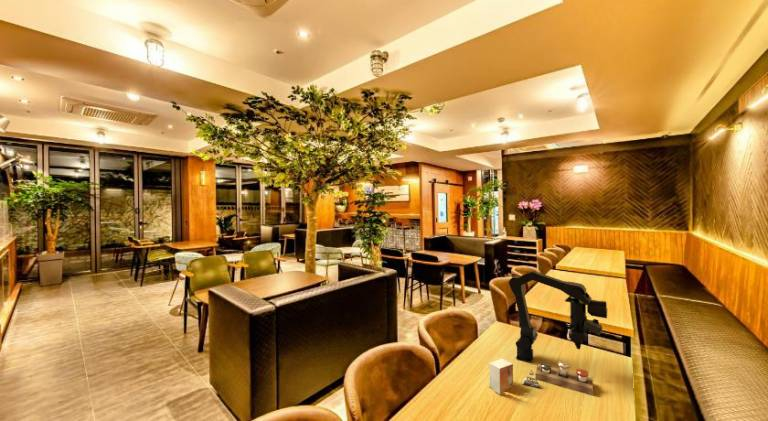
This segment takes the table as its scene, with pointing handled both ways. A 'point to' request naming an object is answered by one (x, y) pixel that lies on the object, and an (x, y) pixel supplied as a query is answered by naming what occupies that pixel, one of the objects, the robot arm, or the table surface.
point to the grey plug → (546, 367)
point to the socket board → (565, 380)
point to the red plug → (582, 375)
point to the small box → (500, 375)
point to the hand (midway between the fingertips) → (578, 348)
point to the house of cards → (531, 381)
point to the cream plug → (563, 369)
